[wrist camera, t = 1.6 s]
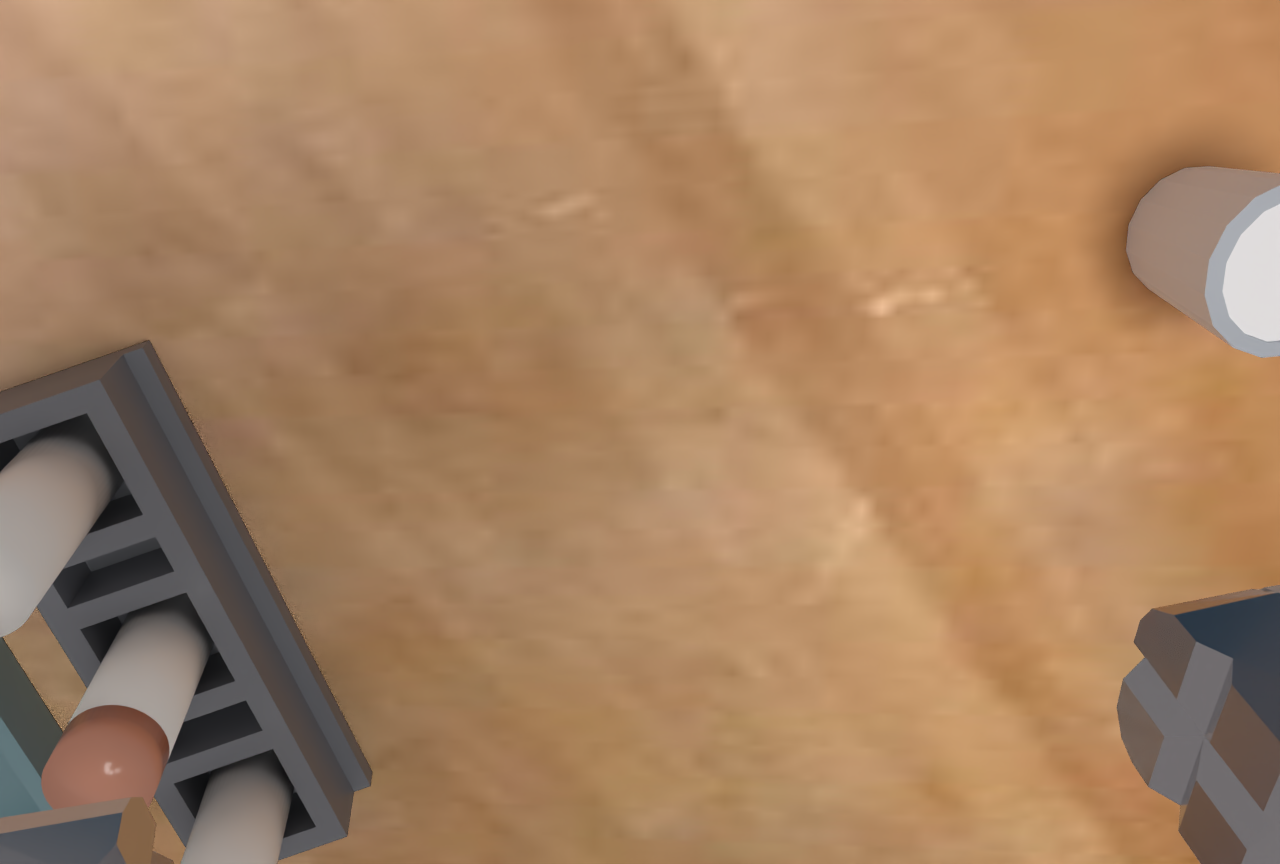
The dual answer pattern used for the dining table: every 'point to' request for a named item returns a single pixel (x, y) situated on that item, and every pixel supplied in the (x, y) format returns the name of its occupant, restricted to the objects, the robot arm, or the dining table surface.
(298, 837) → the grey slotted rack
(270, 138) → the dining table surface
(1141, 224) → the light grey cylinder
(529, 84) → the dining table surface
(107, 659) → the capped peg
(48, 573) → the plain peg
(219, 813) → the plain peg
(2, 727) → the tray
